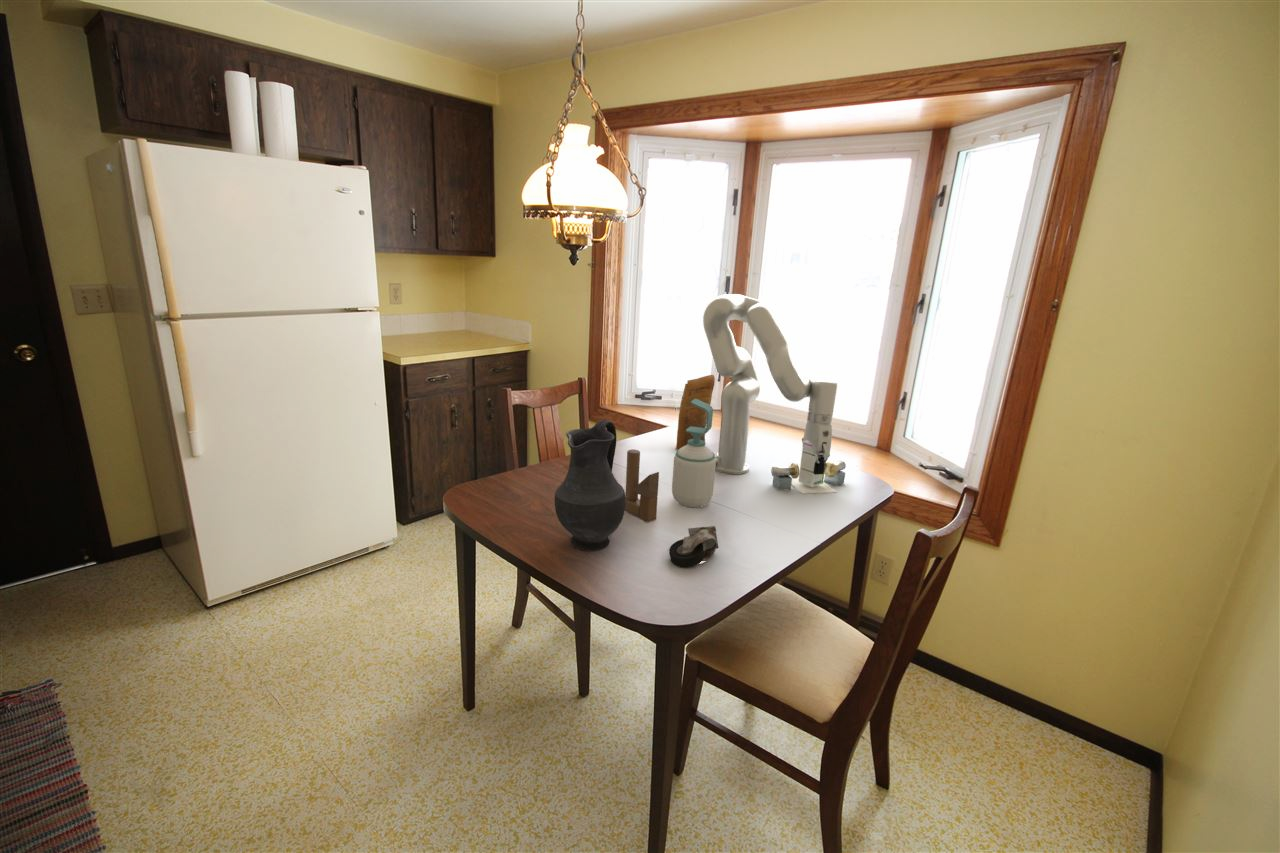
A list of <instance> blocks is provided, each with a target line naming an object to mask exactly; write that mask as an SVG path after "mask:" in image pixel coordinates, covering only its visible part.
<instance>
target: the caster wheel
mask: <svg viewBox="0 0 1280 853" xmlns="http://www.w3.org/2000/svg"><path fill="white" fill-rule="evenodd" d="M687 529H688V530H687V531H688V536H684V537H683V538H681V539H679V540H676V541H675V542H673V543H672V544H671V545H670V547H669V549H668V555H669V560H670V562H671V563H672V564H673V565H674V566H675V565H676V566H675V567H677V566H678V567H679V568H684V569H685V568H686V569H687V568H692V567H696V566H697V565H700V564H699V563H700V562H701V561H706V563H708V562H710V560H711V559H712V557H713V556H714V554H715V552H716V550H717V549H719V547H720V546H719V541H718V535H717V530H716V529H717V528H716V526H715V525H714V526H713V525H711V526H710V525H709V526H699V527H697V526H696V527H689V528H687Z"/></svg>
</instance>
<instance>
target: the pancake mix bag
mask: <svg viewBox="0 0 1280 853" xmlns="http://www.w3.org/2000/svg"><path fill="white" fill-rule="evenodd" d="M715 380H716V379H715V375H714V374H710V375H709V374H708V375H704V376H701V377H698V378H694V379H689V380H687V383H685V384H684V389H683V392H682V397H681V400H680V401H681V402H680V405H679V412H678V422H677V431H676V434H677V435H676V445H675V450H679V449H680V448H682V447H684V446H686V445H687V443H688V440H690V439H693V436H692V435H691V433H688V432H686V429H688V428H689V427H691V426H693V427H700V428H706V422H707V413H706V411H704V410H703V409H701V408H699V407H696V406H694V405H692V404H691V401H692V400H694V399H698V400H700V401H702V402H705V403H707V404H709V405H710V406H711V405H712V397H713V392H714V387H715V382H716V381H715ZM700 440H703V441H705V442H706V434H704V435H703V436H702V437H700Z"/></svg>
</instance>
